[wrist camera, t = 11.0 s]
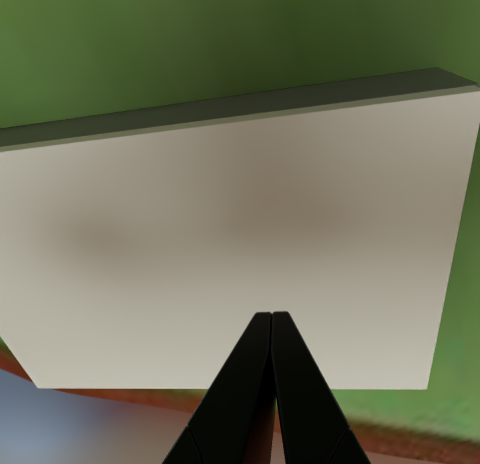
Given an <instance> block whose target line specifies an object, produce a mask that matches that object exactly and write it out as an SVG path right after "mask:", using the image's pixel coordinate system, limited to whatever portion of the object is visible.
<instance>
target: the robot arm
mask: <svg viewBox="0 0 480 464" xmlns="http://www.w3.org/2000/svg"><path fill="white" fill-rule="evenodd" d="M276 399H277V407H278V414H279V421H280V428H281V435H282V442H283V449H284V456H285V463H286V464H371V462H370V461H369V459H368V457H367V455H366V454H365V452H364V450H363V448H362V447H361V445H360V443H359V441H358V439H357V437H356V436H355V434H354V432H353V430H352V429H350V425H349V423H348V421H347V419H346V417H345V416H344V414H343V412H342V410H341V408H340V406H339V404H338V403H337V401H336V399H335V397H334V395H333V393H332V391H331V389H330V388H329V386H328V384H327V382H326V380H325V378H324V376H323V375H322V373H321V371H320V369H319V367H318V365H317V363H316V362H315V360H314V358H313V356H312V354H311V352H310V350H309V349H308V347H307V345H306V343H305V341H304V339H303V337H302V335H301V334H300V332H299V330H298V328H297V326H296V324H295V322H294V321H293V319H292V317H291V315H290V313H289V312H288V311H274V312H273V313H271V312H256V313H255V314H254V316H253V317H252V319H251V320H250V322H249V324H248V325H247V327H246V329H245V330H244V332H243V333H242V335H241V337H240V338H239V340H238V342H237V343H236V345H235V347H234V348H233V350H232V351H231V353H230V355H229V356H228V358H227V360H226V361H225V363H224V364H223V366H222V368H221V369H220V371H219V373H218V374H217V376H216V377H215V379H214V381H213V382H212V384H211V386H210V387H209V389H208V390H207V392H206V394H205V395H204V397H203V399H202V400H201V402H200V404H199V405H198V407H197V408H196V410H195V412H194V413H193V415H192V417H191V418H190V420H189V422H188V426H185V428H184V429H183V431H182V433H181V434H180V436H179V438H178V439H177V441H176V442H175V444H174V445H173V447H172V449H171V450H170V452H169V453H168V455H167V456H166V458H165V459H164V461H163V462H162V464H270V461H271V450H272V440H273V430H274V420H275V409H276Z"/></svg>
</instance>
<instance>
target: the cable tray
mask: <svg viewBox="0 0 480 464" xmlns="http://www.w3.org/2000/svg"><path fill="white" fill-rule="evenodd" d="M473 85H474V86H476V87H479V84H478V83H476V82H473V81H471V80H468V79H465V78H463V77H460V76H458V75H455V74H453V73H450V72H448V71H445V70H443V69H440V68H431V69H424V70H417V71H409V72H402V73H395V74H388V75H381V76H374V77H367V78H359V79H352V80H345V81H338V82H331V83H324V84H317V85H309V86H302V87H295V88H288V89H281V90H274V91H267V92H259V93H252V94H245V95H238V96H231V97H224V98H217V99H209V100H202V101H195V102H188V103H181V104H174V105H167V106H159V107H152V108H145V109H138V110H131V111H124V112H117V113H109V114H102V115H95V116H88V117H81V118H74V119H67V120H59V121H52V122H45V123H38V124H31V125H24V126H17V127H9V128H2V129H0V147H4V146H11V145H19V144H27V143H34V142H42V141H50V140H57V139H65V138H73V137H81V136H88V135H96V134H104V133H111V132H119V131H127V130H134V129H142V128H150V127H157V126H165V125H173V124H181V123H188V122H196V121H204V120H211V119H219V118H227V117H234V116H242V115H250V114H257V113H265V112H273V111H281V110H288V109H296V108H304V107H311V106H319V105H327V104H334V103H342V102H350V101H358V100H365V99H373V98H381V97H388V96H396V95H404V94H411V93H419V92H427V91H434V90H442V89H450V88H458V87H465V86H473Z"/></svg>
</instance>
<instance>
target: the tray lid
mask: <svg viewBox="0 0 480 464" xmlns="http://www.w3.org/2000/svg"><path fill="white" fill-rule="evenodd" d="M479 124H480V88H479V87H476V86H474V85H473V86H465V87H458V88H450V89H442V90H434V91H427V92H419V93H411V94H404V95H396V96H388V97H381V98H373V99H365V100H358V101H350V102H342V103H334V104H327V105H319V106H311V107H304V108H296V109H288V110H281V111H273V112H265V113H257V114H250V115H242V116H234V117H227V118H219V119H211V120H204V121H196V122H188V123H181V124H173V125H165V126H157V127H150V128H142V129H134V130H127V131H119V132H111V133H104V134H96V135H88V136H81V137H73V138H65V139H57V140H50V141H42V142H34V143H27V144H19V145H11V146H4V147H0V336H1V338H2V339H3V341H4V342H5V343H6V345H7V346H8V347H9V349H10V350H11V352H12V353H13V354H14V356H15V357H16V359H17V360H18V361H19V363H20V364H21V365H22V367H23V368H24V370H25V371H26V372H27V374H28V375H29V377H30V378H31V379H32V381H33V382H34V383H35V385H36V386H37V388H149V389H209V387H210V386H211V384H212V382H213V381H214V379H215V377H216V376H217V374H218V373H219V371H220V369H221V368H222V366H223V364H224V363H225V361H226V360H227V358H228V356H229V355H230V353H231V351H232V350H233V348H234V347H235V345H236V343H237V342H238V340H239V338H240V337H241V335H242V333H243V332H244V330H245V329H246V327H247V325H248V324H249V322H250V320H251V319H252V317H253V316H254V314H255V313H256V312H271V313H273V312H274V311H288V312H289V313H290V315H291V317H292V319H293V321H294V322H295V324H296V326H297V328H298V330H299V332H300V334H301V335H302V337H303V339H304V341H305V343H306V345H307V347H308V349H309V350H310V352H311V354H312V356H313V358H314V360H315V362H316V363H317V365H318V367H319V369H320V371H321V373H322V375H323V376H324V378H325V380H326V382H327V384H328V386H329V388H330V389H427V385H428V380H429V375H430V370H431V365H432V360H433V355H434V350H435V345H436V340H437V335H438V330H439V325H440V320H441V315H442V310H443V305H444V300H445V295H446V290H447V285H448V280H449V275H450V270H451V264H452V259H453V254H454V249H455V244H456V239H457V234H458V229H459V224H460V219H461V214H462V209H463V204H464V199H465V194H466V189H467V184H468V179H469V174H470V169H471V164H472V159H473V154H474V149H475V144H476V139H477V134H478V129H479Z"/></svg>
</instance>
